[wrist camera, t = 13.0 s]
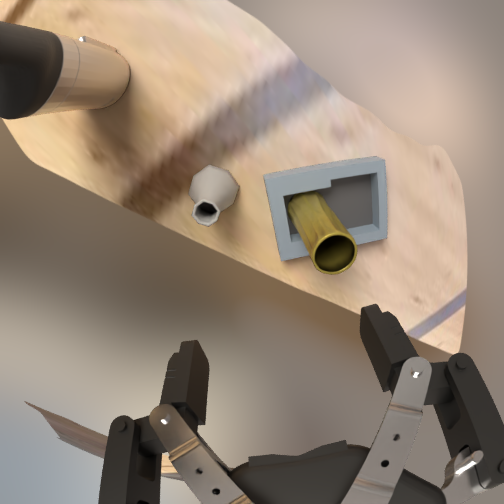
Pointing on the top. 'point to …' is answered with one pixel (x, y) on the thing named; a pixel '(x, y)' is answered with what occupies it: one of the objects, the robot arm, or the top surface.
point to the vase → (322, 233)
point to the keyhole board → (332, 199)
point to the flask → (212, 193)
